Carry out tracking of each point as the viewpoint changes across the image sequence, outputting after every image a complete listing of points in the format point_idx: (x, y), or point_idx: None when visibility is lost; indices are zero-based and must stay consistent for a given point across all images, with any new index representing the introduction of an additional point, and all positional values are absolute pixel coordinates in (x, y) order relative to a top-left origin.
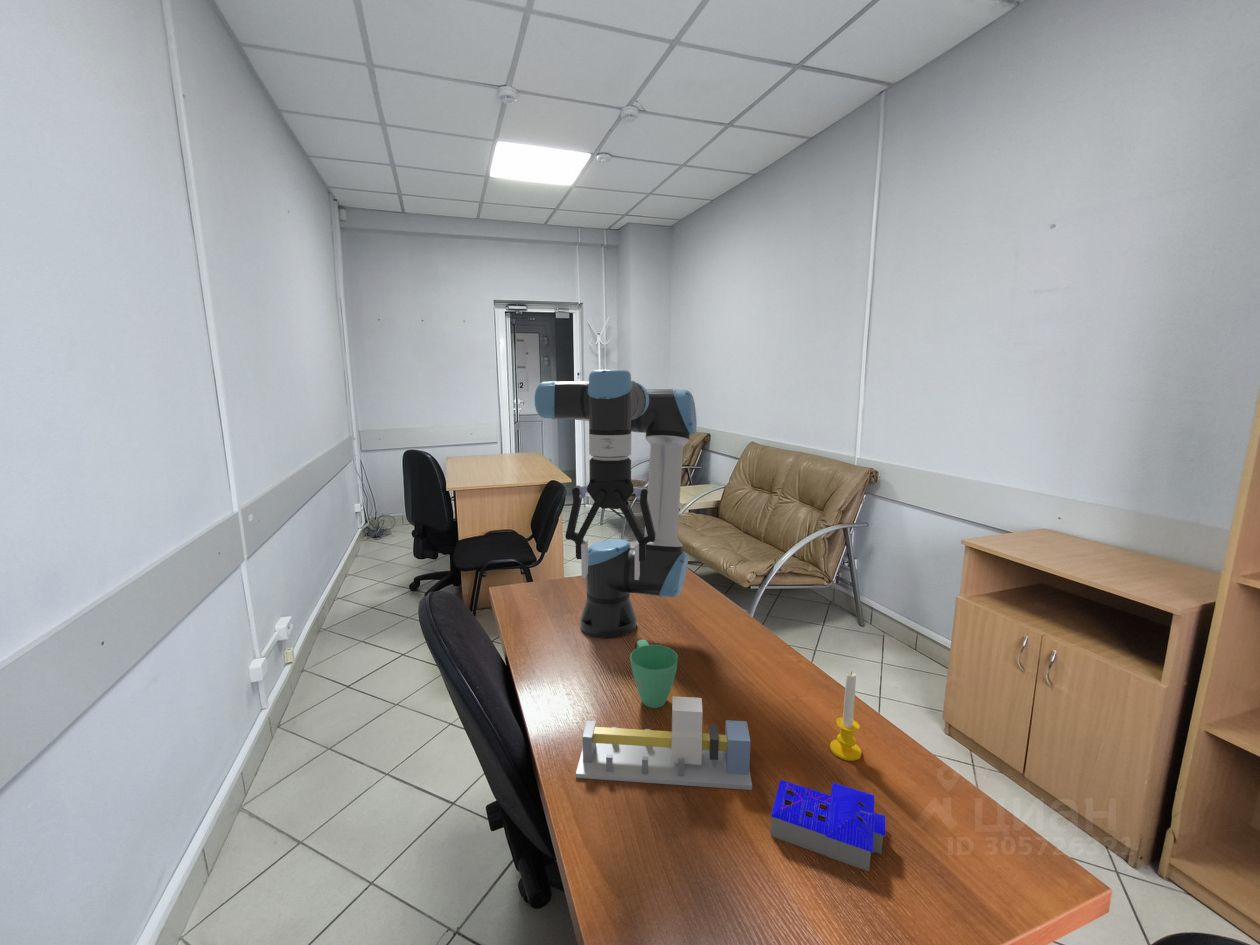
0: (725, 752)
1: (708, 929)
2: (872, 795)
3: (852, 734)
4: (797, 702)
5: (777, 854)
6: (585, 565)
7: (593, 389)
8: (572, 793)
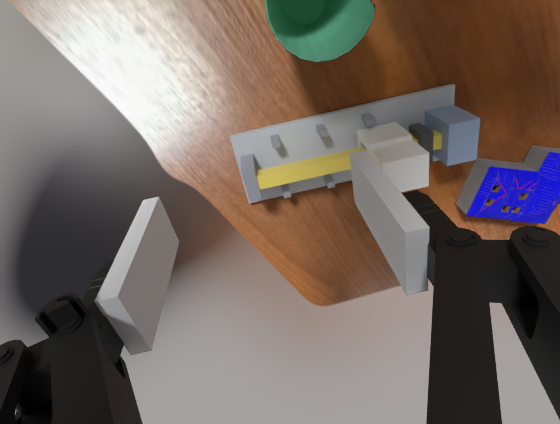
0: (428, 123)
1: (395, 284)
2: None
3: None
4: None
5: (456, 219)
6: (170, 272)
7: None
8: (255, 219)
